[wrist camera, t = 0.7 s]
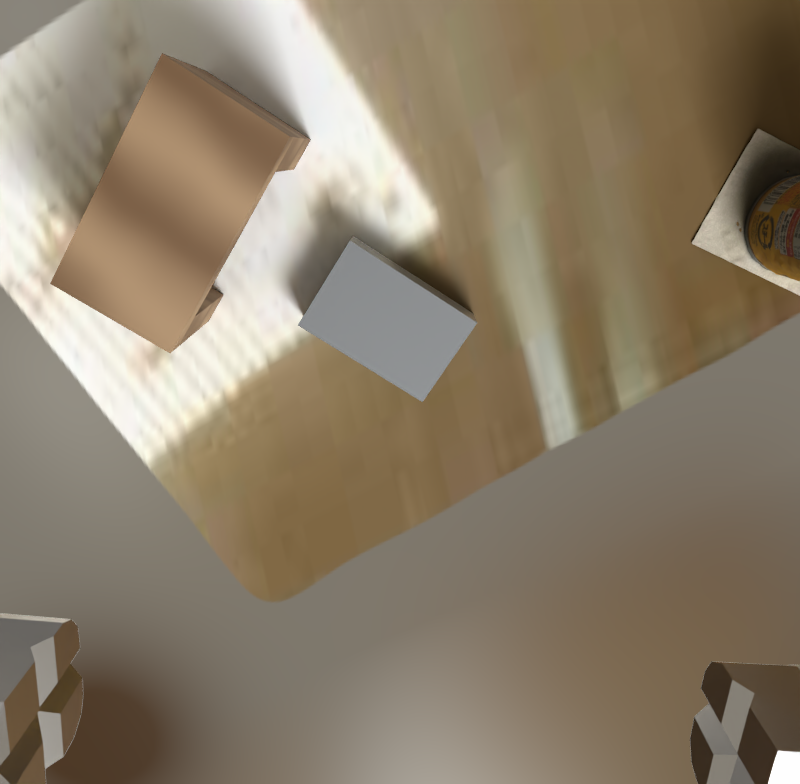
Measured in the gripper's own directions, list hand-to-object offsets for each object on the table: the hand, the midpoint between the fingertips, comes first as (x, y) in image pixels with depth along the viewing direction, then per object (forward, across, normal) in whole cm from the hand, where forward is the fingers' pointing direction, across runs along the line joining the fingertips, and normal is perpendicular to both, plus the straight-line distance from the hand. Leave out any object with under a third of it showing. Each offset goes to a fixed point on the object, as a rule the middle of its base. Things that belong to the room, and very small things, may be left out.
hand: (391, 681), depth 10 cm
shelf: (+38, +12, -3) cm, 40 cm away
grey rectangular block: (+39, +1, +3) cm, 39 cm away
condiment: (+38, -23, -5) cm, 45 cm away
